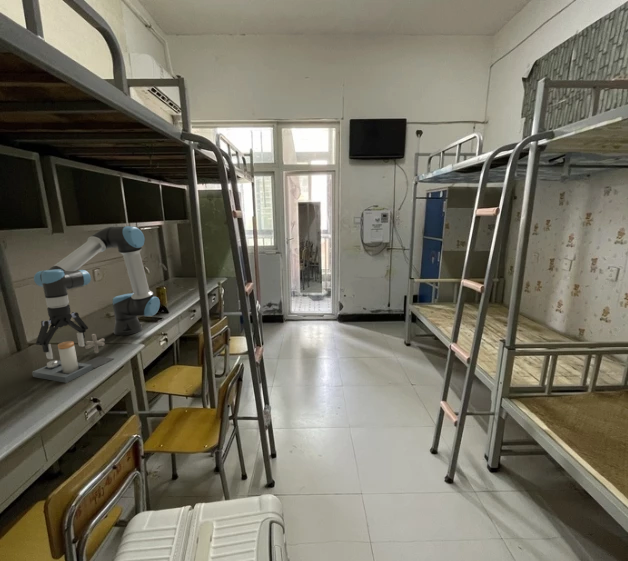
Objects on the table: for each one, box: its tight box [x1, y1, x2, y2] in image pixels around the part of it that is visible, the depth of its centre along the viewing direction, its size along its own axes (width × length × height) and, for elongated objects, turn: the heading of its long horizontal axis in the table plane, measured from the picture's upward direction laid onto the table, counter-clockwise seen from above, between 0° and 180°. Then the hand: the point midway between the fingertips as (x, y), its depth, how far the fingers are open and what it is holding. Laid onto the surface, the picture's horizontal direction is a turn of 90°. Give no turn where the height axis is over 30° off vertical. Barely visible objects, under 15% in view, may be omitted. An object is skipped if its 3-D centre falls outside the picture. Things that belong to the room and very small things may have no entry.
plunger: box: [46, 359, 59, 370], centre depth 143 cm, size 4×4×4 cm
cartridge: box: [57, 340, 79, 375], centre depth 139 cm, size 6×6×15 cm
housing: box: [32, 359, 94, 384], centre depth 142 cm, size 12×20×2 cm, turn 73°
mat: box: [83, 356, 115, 370], centre depth 152 cm, size 10×10×1 cm
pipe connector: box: [84, 333, 106, 354], centre depth 162 cm, size 10×10×10 cm
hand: (66, 352), depth 138 cm, fingers open, 13 cm apart
